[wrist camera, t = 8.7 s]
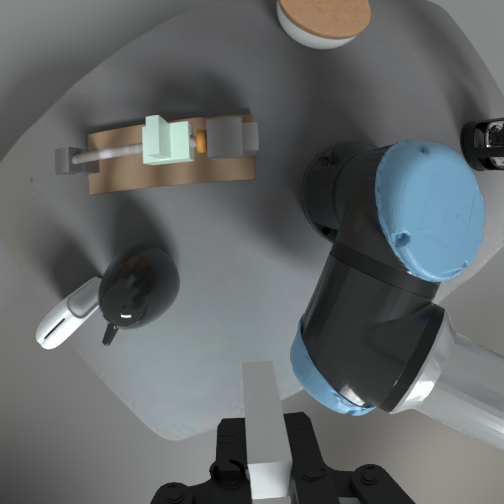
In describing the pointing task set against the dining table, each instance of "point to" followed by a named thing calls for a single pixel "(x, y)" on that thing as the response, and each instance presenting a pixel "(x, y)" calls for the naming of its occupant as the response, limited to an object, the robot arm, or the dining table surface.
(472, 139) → the french press
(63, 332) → the photo printer
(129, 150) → the rod stand
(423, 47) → the dining table surface
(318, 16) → the lidded bowl
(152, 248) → the pump dispenser
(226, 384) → the dining table surface
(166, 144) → the pale green block
